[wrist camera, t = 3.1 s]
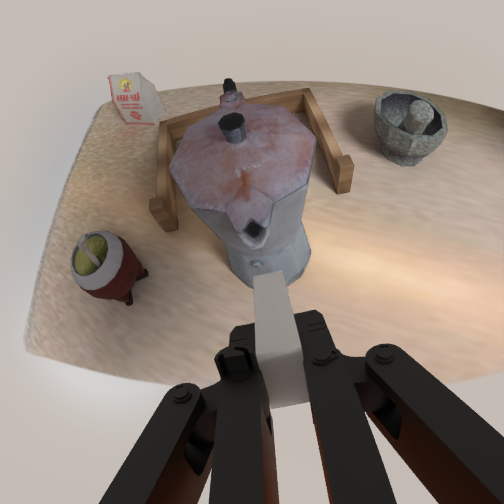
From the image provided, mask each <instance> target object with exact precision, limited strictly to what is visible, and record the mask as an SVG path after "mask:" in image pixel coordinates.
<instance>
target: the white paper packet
mask: <svg viewBox="0 0 504 504" xmlns="http://www.w3.org/2000/svg"><path fill="white" fill-rule="evenodd" d="M108 79H109V83H110V88H111V96H112V101H113V103H114V104H115V106H116V108H117V109H118V111H119V113H120V115H121V116H122V118H123V120H124V121H125V123H126V124H148V125H155V124H156V123H157V121H158V120H159V119H160V117H161V116H162V115H163V113H164V112H165V111H166V110H165V108H164V106H163V104H162V102H161V100H160V97H159V95H158V93H157V91H156V89H155V86H154V85H153V84H152V83H151V82H149V81H148V80H147V79H145V78H144V77H143V76H142V75H141V74H140V73H139V72H135V73H125V74H118V75H117V74H116V75H110V76H109V77H108Z"/></svg>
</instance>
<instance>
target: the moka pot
mask: <svg viewBox="0 0 504 504" xmlns="http://www.w3.org/2000/svg"><path fill="white" fill-rule="evenodd" d="M223 89H224V94H223V95H221V96H220V109H219V110H218V111H216V112H214V113H213V114H211V115H209V116H207V117H205V118H204V119H202V120H200V121H198V122H196V123H195V124H193V125H191V126H189V127H188V129H187V130H186V132H185V134H184V136H183V138H182V140H181V142H180V144H179V146H178V148H177V150H176V152H175V155H174V157H173V159H172V161H171V163H170V165H169V171H170V173H171V175H172V176H173V178H174V180H175V182H176V184H177V185H178V187H179V189H180V191H181V192H182V194H183V196H184V198H185V199H186V201H187V203H188V204H189V206H190V208H191V209H192V210H193V211H194V212H195V213H196V214H197V216H198V217H199V218H200V219H201V220H202V221H203V222H204V223H205V224H206V225H207V226H208V227H209V228H210V229H211V230H212V231H213V232H214V233H215V234H216V235H217V236H218V237H219V238H220V239H221V240H222V241H223V243H224V244H225V245H226V249H227V253H228V256H229V261H230V264H231V269H232V271H233V273H234V274H235V275H236V276H237V277H238V278H239V279H240V280H242V281H243V282H244V283H245V284H246V285H247V286H249V287H251V288H253V289H254V284H253V276H257V275H262V274H267V273H272V272H277V271H281V270H282V271H283V275H284V279H285V283H286V286H288V285H290V284H291V283H293V282H294V281H296V280H297V279H298V278H300V277H301V276H302V274H303V272H304V270H305V268H306V266H307V264H308V261H309V258H310V255H311V249H310V246H309V243H308V239H307V236H306V233H305V230H304V227H303V223H302V221H301V217H302V213H303V208H304V203H305V198H306V193H307V188H308V183H309V178H310V173H311V167H312V162H313V156H314V151H315V146H316V137H315V135H314V134H313V133H312V132H311V131H310V130H309V129H308V128H307V127H306V126H304V125H303V124H302V123H301V122H300V121H299V120H298V119H297V118H296V117H295V116H294V115H293V114H292V113H290V112H289V111H288V110H287V109H286V108H284V107H283V106H278V105H263V104H248V103H245V101H244V97H243V94H242V92H237V89H236V86H235V83H234V82H233V81H232V79H230V78H228V79H225V80H224V84H223Z"/></svg>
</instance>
